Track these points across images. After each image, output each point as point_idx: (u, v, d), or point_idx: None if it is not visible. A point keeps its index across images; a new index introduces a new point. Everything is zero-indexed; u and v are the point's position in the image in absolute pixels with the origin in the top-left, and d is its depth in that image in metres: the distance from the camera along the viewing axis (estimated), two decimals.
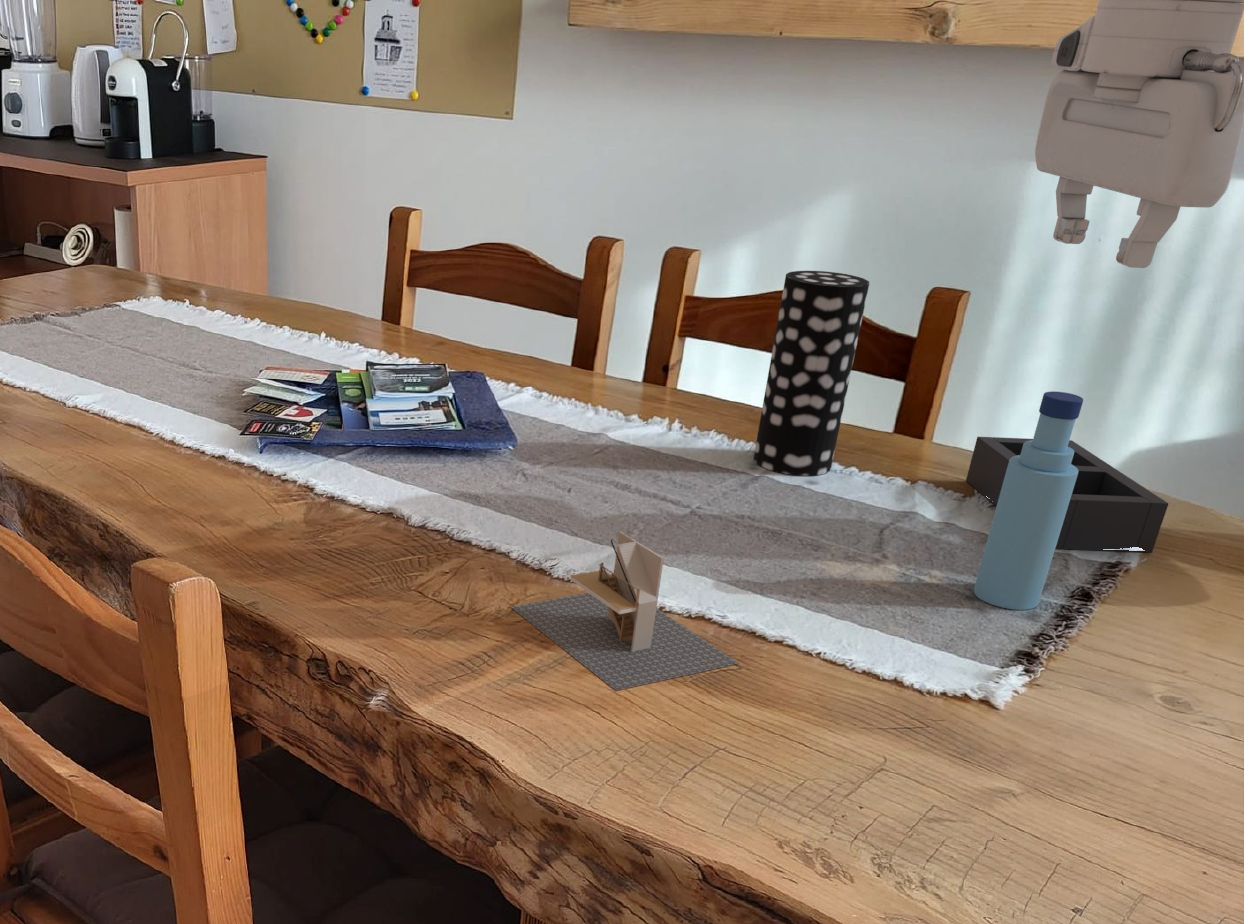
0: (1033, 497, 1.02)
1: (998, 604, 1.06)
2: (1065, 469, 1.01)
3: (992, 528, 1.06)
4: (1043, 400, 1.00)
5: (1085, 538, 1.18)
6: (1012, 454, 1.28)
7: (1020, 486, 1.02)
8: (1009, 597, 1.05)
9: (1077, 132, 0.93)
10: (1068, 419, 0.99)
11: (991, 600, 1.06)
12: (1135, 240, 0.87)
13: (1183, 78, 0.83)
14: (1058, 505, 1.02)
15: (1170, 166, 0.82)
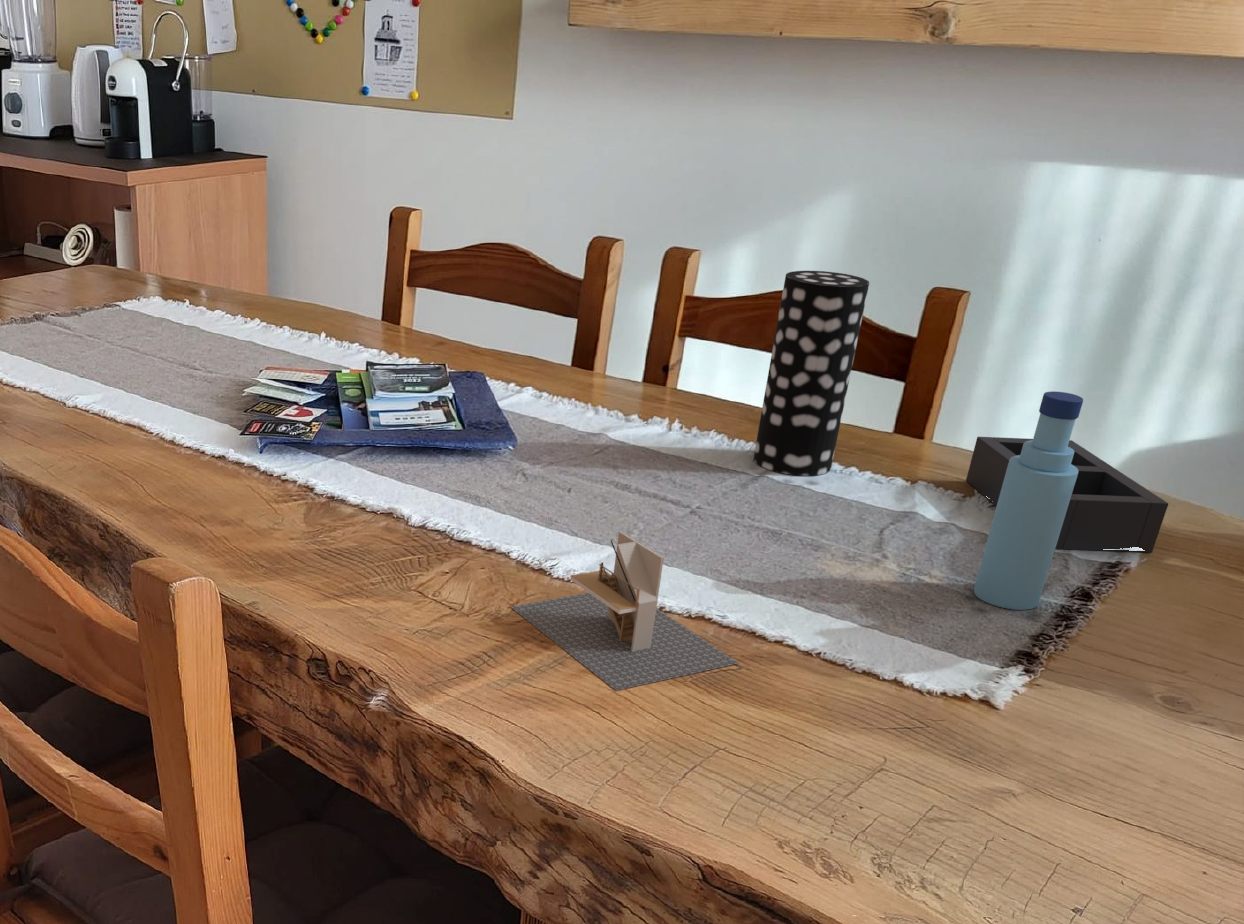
0: (1033, 497, 1.02)
1: (998, 604, 1.06)
2: (1065, 469, 1.01)
3: (992, 528, 1.06)
4: (1043, 400, 1.00)
5: (1085, 538, 1.18)
6: (1012, 454, 1.28)
7: (1020, 486, 1.02)
8: (1009, 597, 1.05)
9: None
10: (1068, 419, 0.99)
11: (991, 600, 1.06)
12: None
13: None
14: (1058, 505, 1.02)
15: None
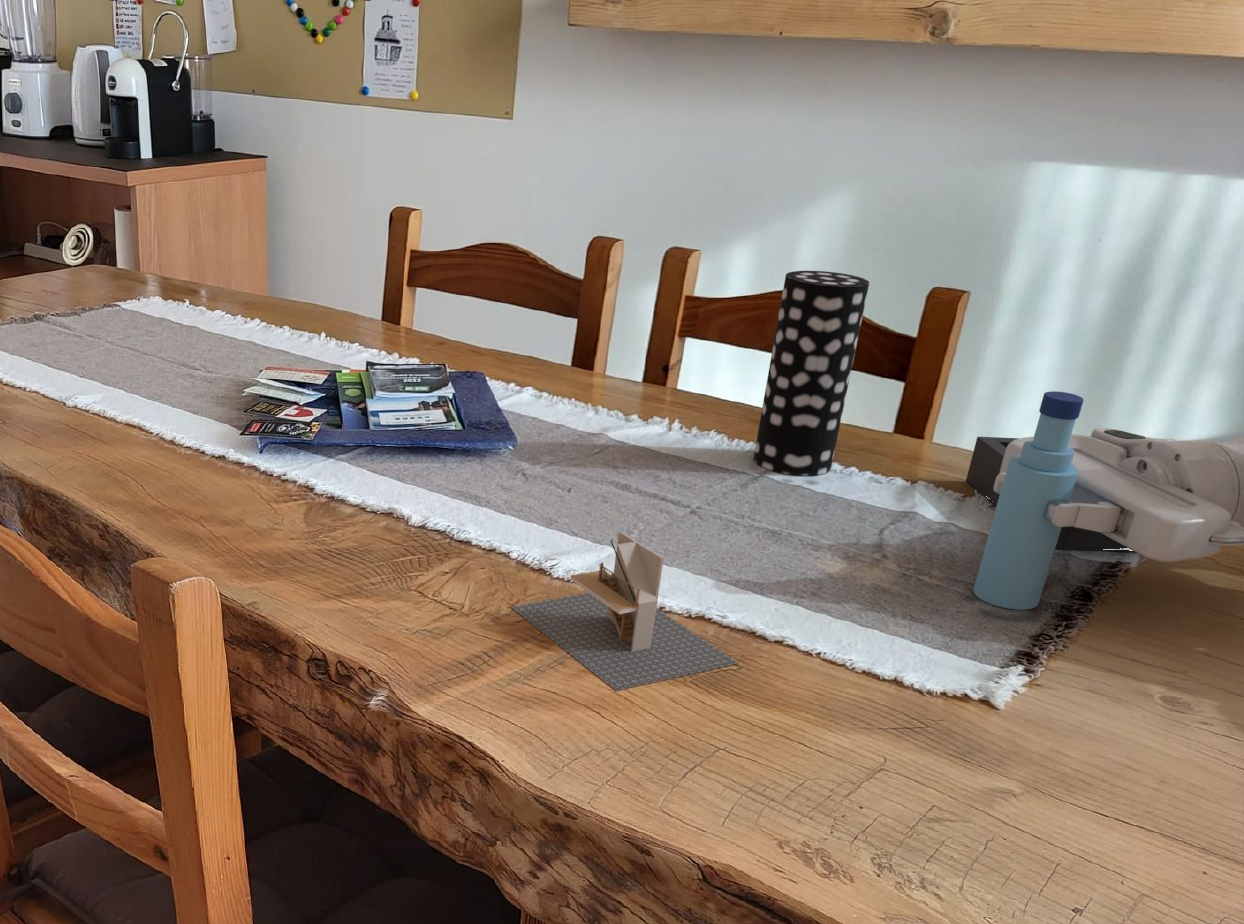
0: (1033, 497, 1.02)
1: (998, 604, 1.06)
2: (1065, 469, 1.01)
3: (992, 528, 1.06)
4: (1043, 400, 1.00)
5: (1085, 538, 1.18)
6: None
7: (1020, 486, 1.02)
8: (1009, 596, 1.05)
9: (1078, 458, 1.08)
10: (1068, 419, 0.99)
11: (991, 600, 1.06)
12: (1080, 507, 1.00)
13: None
14: None
15: (1183, 513, 0.97)
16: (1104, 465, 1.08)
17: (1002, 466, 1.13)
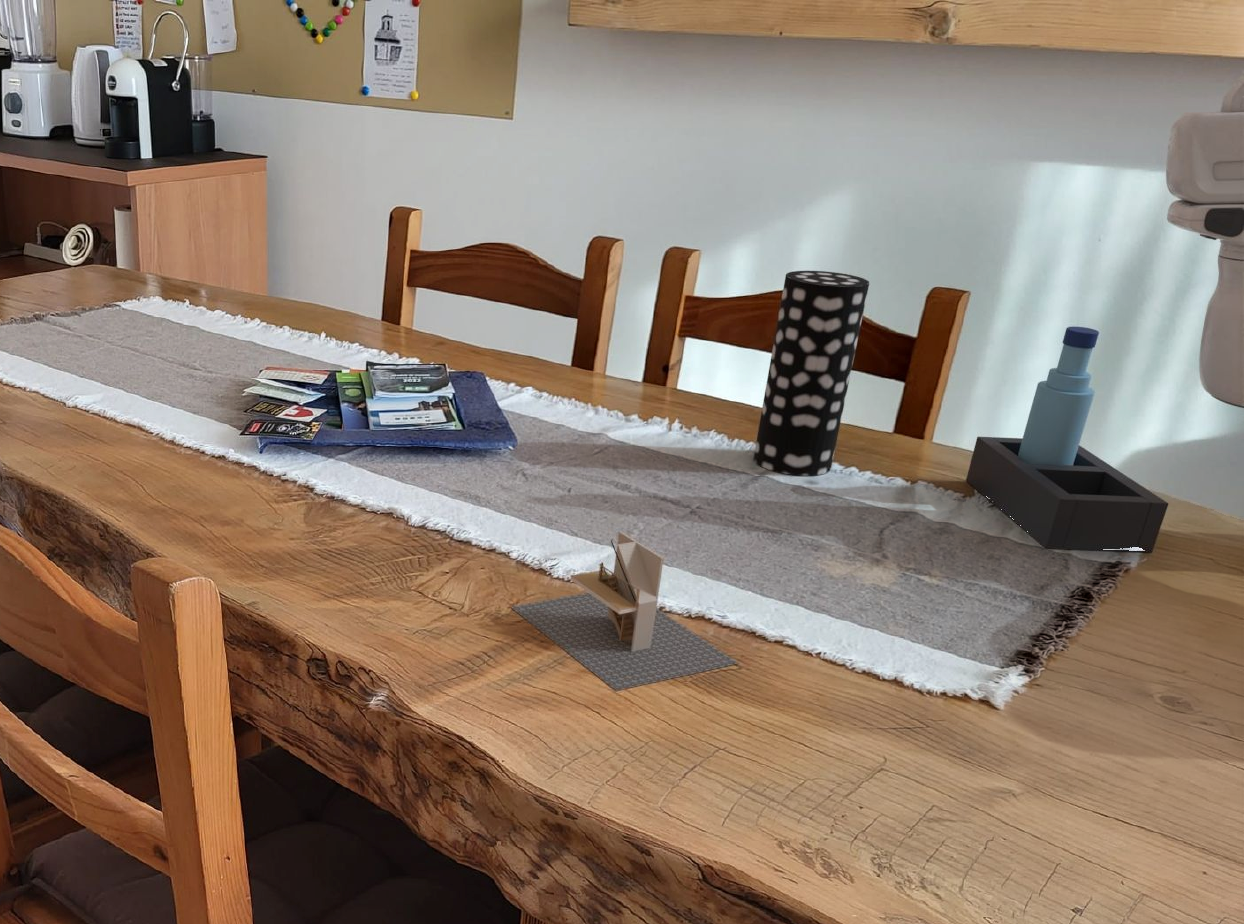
0: (1058, 413, 1.24)
1: None
2: (1084, 390, 1.24)
3: (1023, 441, 1.28)
4: (1066, 333, 1.23)
5: (1085, 538, 1.18)
6: (1012, 454, 1.28)
7: (1047, 404, 1.25)
8: None
9: None
10: (1086, 348, 1.22)
11: None
12: None
13: None
14: (1078, 420, 1.24)
15: None
16: None
17: (1193, 113, 1.08)
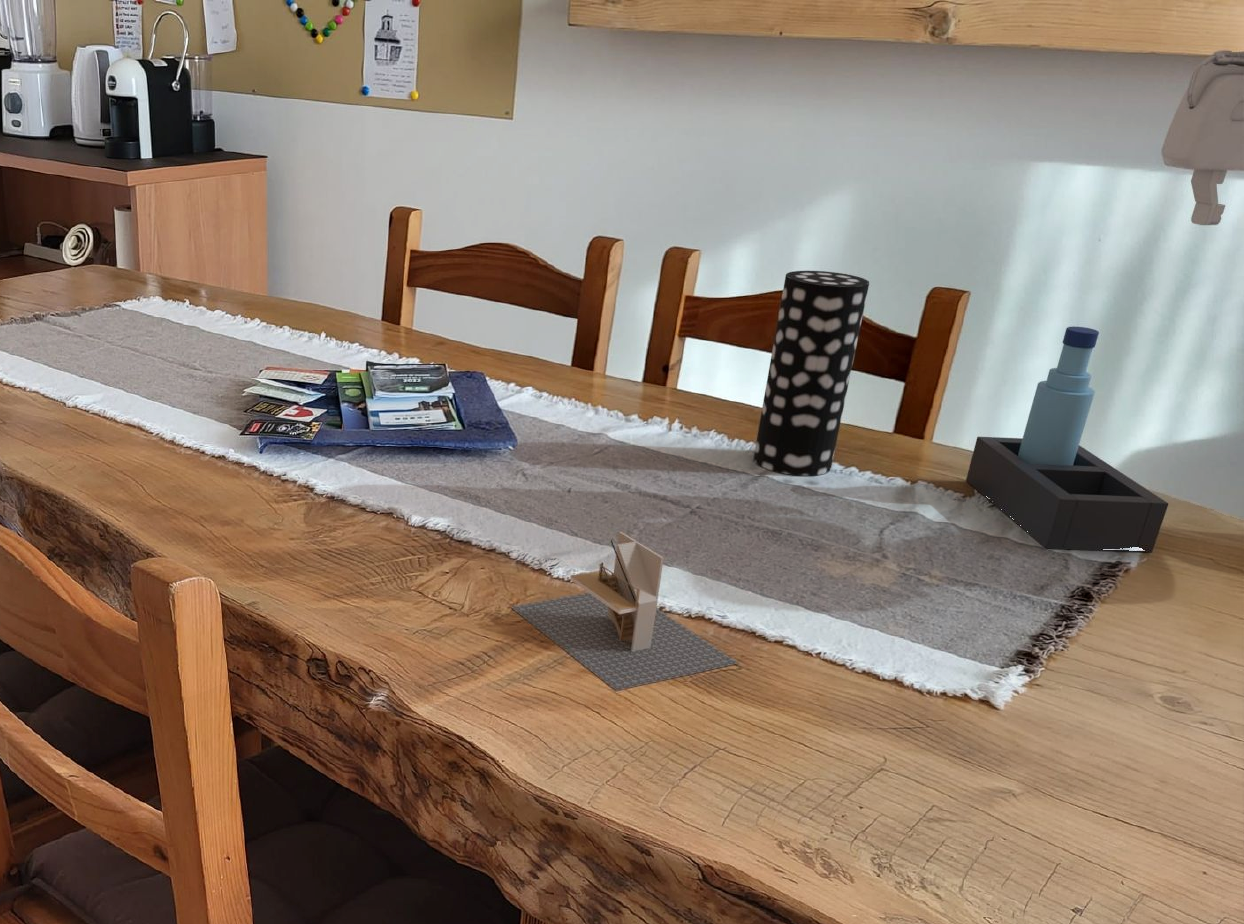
0: (1058, 413, 1.24)
1: None
2: (1084, 390, 1.24)
3: (1023, 441, 1.28)
4: (1066, 333, 1.23)
5: (1085, 538, 1.18)
6: (1012, 454, 1.28)
7: (1047, 404, 1.25)
8: None
9: None
10: (1086, 348, 1.22)
11: None
12: (1196, 201, 1.10)
13: None
14: (1078, 420, 1.24)
15: None
16: None
17: None
